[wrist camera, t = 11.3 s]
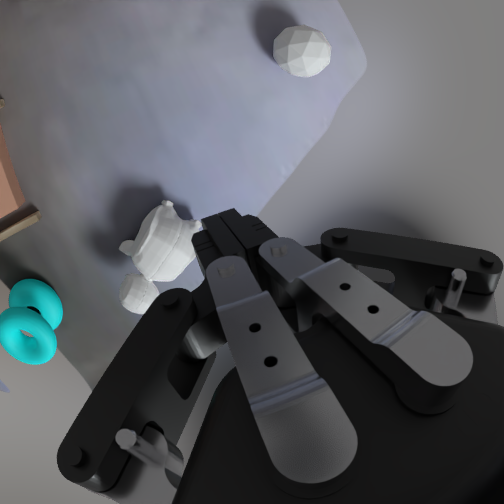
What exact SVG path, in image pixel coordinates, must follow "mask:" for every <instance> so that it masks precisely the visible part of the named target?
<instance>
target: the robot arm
mask: <svg viewBox="0 0 504 504" xmlns="http://www.w3.org/2000/svg"><path fill="white" fill-rule="evenodd" d="M201 223H202V227H203V230H202V231H199V232H196V233H194V234H193V236H192V239H191V242H192V245H193V248H194V251H195V254H196V257H197V260H198V263H199V266H200V269H201V271H202V273H203V276H204V278H205V279H204V281H203V282H202V284H201V285H200V286H199V287H198V288H196V289H195V290H193V291H192V292H190V291H188V290H187V289H184V288H174V289H170V290H167V291H165V292H163V293H161V294H160V295H158V296H157V297H156V298H155V300H154V301H153V302H152V304H151V305H150V306H149V308H148V309H147V311H146V312H145V313H144V315H143V316H142V318H141V319H140V321H139V322H138V324H137V325H136V326H135V328H134V329H133V331H132V332H131V334H130V335H129V337H128V338H127V340H126V341H125V343H124V344H123V345H122V347H121V348H120V350H119V351H118V353H117V354H116V356H115V357H114V359H113V360H112V362H111V364H110V365H109V367H108V368H107V370H106V371H105V373H104V374H103V376H102V377H101V379H100V380H99V382H98V384H97V385H96V387H95V388H94V390H93V391H92V393H91V395H90V396H89V398H88V400H87V401H86V403H85V404H84V406H83V408H82V410H81V411H80V413H79V414H78V416H77V418H76V419H75V421H74V423H73V424H72V426H71V427H70V429H69V431H68V433H67V434H66V436H65V438H64V439H63V441H62V443H61V445H60V447H59V449H58V453H57V464H58V468H59V470H60V472H61V473H62V475H63V476H64V477H65V478H66V479H68V480H70V481H71V482H73V483H76V484H78V485H80V486H82V487H85V488H86V489H88V490H89V491H91V492H94V493H96V494H99V495H101V496H104V497H107V498H109V499H112V500H114V501H116V502H118V503H119V504H504V327H502V326H500V325H498V321H497V313H496V305H495V298H494V291H495V289H496V287H497V284H498V281H499V279H500V276H501V273H502V270H503V263H502V261H501V260H500V258H499V257H498V256H496V255H495V254H493V253H492V252H489V251H486V250H482V249H476V248H470V247H465V246H459V245H453V244H448V243H441V242H436V241H430V240H423V239H417V238H410V237H403V236H397V235H390V234H383V233H376V232H370V231H362V230H354V229H347V228H334V229H330V230H327V231H326V232H324V233H323V234H322V235H321V244H317V245H311V246H302V245H300V244H299V243H298V242H296V241H295V240H293V239H290V238H285V237H280V238H279V237H278V236H277V235H276V234H275V233H274V232H273V231H272V230H271V229H269V228H268V227H267V226H266V225H265V224H264V223H263V222H262V221H261V220H260V219H259V218H258V217H255V216H252V215H249V214H248V215H245V216H241V215H240V214H239V213H238V212H237V211H236V210H235V209H234V208H232V209H229V210H226V211H223V212H220V213H218V214H215V215H212V216H209V217H206V218H203V219H201ZM358 265H362V266H368V267H374V268H380V269H386V270H389V271H391V272H392V273H393V274H394V276H395V281H394V282H393V283H383V282H377V281H372V280H370V279H369V278H368V277H366V276H365V275H363V274H362V273H361V272H359V271H358ZM226 342H228V345H229V348H230V351H231V354H232V357H233V359H234V362H235V365H236V366H235V367H234V368H233V369H232V370H231V371H229V373H228V374H227V375H226V376H225V377H224V378H223V379H222V381H221V382H220V384H219V385H218V387H217V388H216V390H215V392H214V395H213V397H212V400H211V403H210V405H209V408H208V410H207V413H206V415H205V418H204V421H203V423H202V426H201V429H200V432H199V434H198V436H197V439H196V442H195V444H194V447H193V450H192V452H191V455H190V458H189V460H188V463H187V465H186V468H185V470H184V473H183V476H182V470H183V465H184V458H183V455H182V452H181V451H180V449H179V448H178V447H177V446H176V445H177V442H178V440H179V438H180V436H181V434H182V431H183V429H184V427H185V425H186V423H187V420H188V418H189V416H190V414H191V412H192V409H193V407H194V405H195V403H196V401H197V398H198V396H199V394H200V392H201V389H202V387H203V385H204V383H205V381H206V378H207V376H208V374H209V372H210V369H211V367H212V365H213V363H214V360H215V358H216V350H217V349H218V348H219V347H221V346H222V345H224V344H225V343H226ZM181 476H182V477H181Z"/></svg>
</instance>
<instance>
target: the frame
mask: <svg viewBox="0 0 504 504" xmlns="http://www.w3.org/2000/svg"><path fill="white" fill-rule="evenodd" d="M4 106H5V103H4V99H0V109H1V108H2V107H4ZM40 218H41V214H40V212H39V211H37V212H35V213H33V214H31V215H29V216H28V217H26V218H24V219H22V220H20V221H18V222H16V223H15V224H13V225H11V226H9V227H8V228H6V229H4V230H2V231H1V232H0V241H2V240H4V239H6V238H7V237H9V236H11V235H13V234H15V233H16V232H18V231H20V230H22V229H24V228H26V227H28V226H30V225H32V224H33V223H35V222H37V221H39V220H40Z"/></svg>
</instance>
